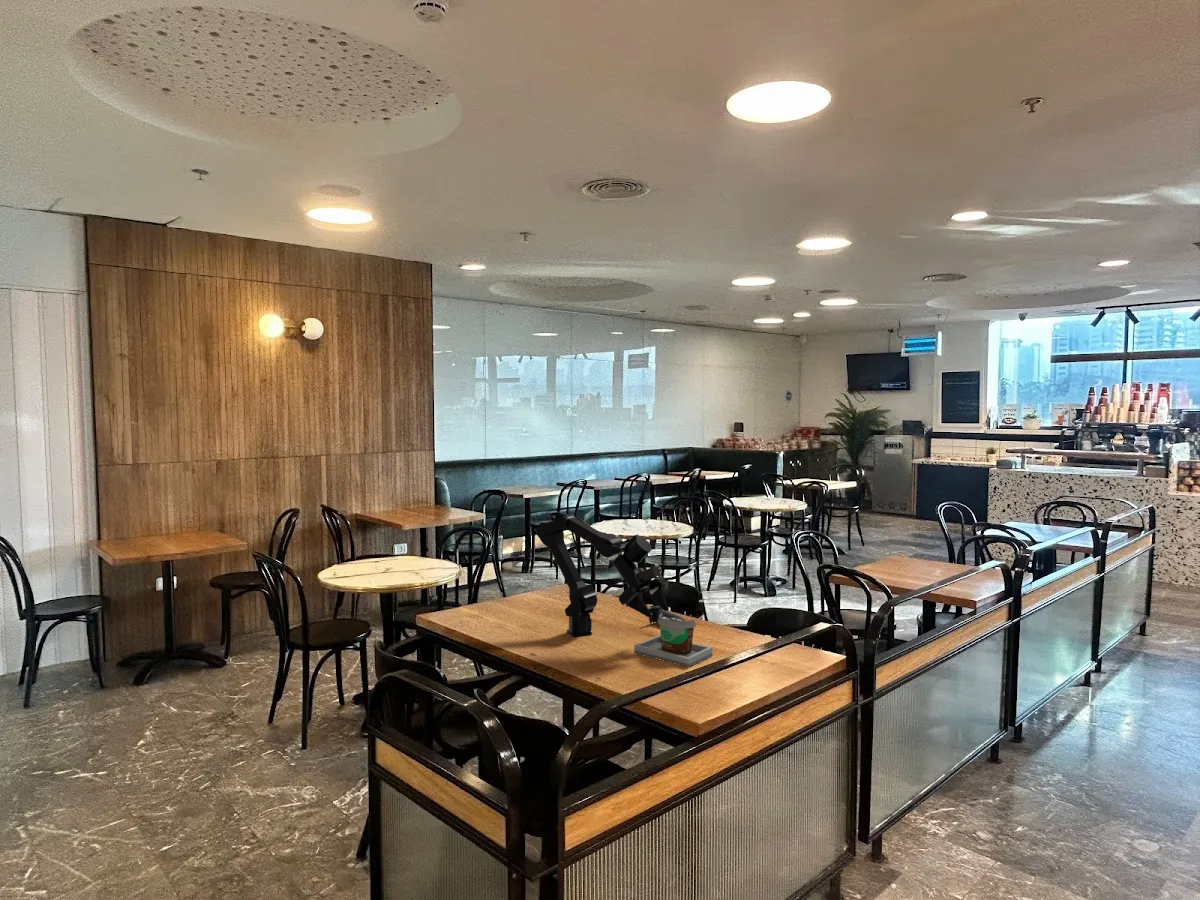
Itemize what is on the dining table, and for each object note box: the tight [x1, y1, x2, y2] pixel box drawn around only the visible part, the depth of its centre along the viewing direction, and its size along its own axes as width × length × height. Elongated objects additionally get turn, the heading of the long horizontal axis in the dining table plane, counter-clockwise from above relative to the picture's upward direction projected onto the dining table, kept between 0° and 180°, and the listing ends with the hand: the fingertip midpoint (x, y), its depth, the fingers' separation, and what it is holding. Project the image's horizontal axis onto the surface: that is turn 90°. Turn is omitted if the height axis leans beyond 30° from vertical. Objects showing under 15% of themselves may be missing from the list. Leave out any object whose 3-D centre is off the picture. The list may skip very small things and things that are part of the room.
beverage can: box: [648, 604, 685, 624], centre depth 246 cm, size 9×8×12 cm
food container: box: [657, 613, 696, 654], centre depth 216 cm, size 12×6×10 cm, turn 51°
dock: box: [633, 634, 713, 668], centre depth 217 cm, size 13×19×2 cm
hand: (659, 613), depth 219 cm, fingers open, 9 cm apart
